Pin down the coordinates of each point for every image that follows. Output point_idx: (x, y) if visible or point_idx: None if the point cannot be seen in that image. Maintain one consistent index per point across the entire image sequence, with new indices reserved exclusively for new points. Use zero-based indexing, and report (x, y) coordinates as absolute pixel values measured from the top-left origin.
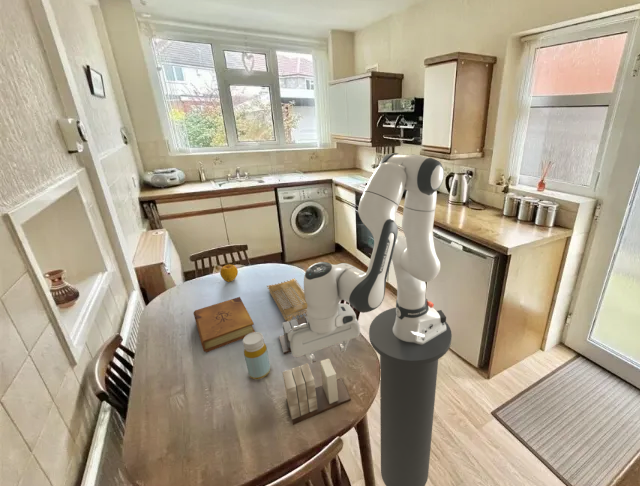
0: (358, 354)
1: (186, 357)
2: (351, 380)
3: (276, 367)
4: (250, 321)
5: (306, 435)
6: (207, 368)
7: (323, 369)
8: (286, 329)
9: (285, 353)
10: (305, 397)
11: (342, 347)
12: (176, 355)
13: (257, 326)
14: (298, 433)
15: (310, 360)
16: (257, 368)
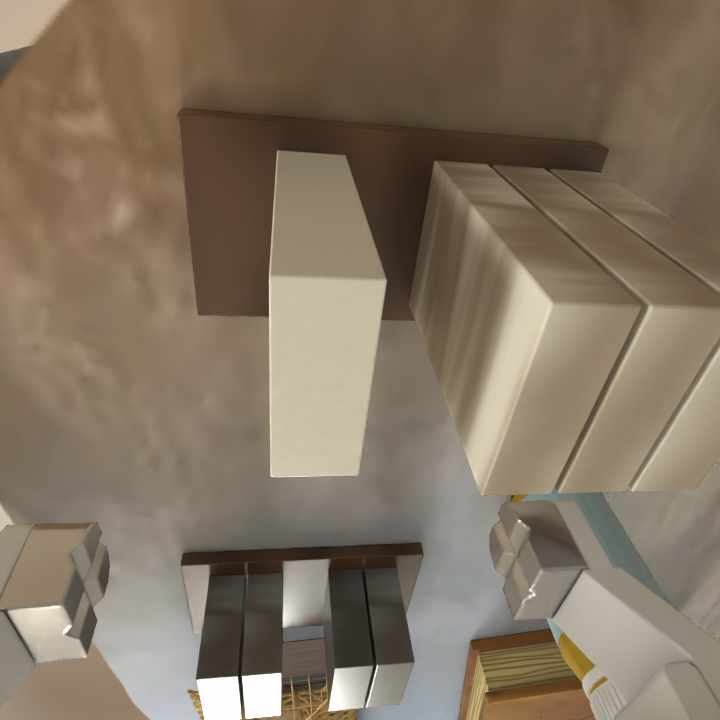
0: (33, 428)
1: (694, 614)
2: (130, 271)
3: (479, 498)
4: (494, 709)
5: (579, 4)
6: (677, 566)
7: (370, 387)
8: (399, 677)
9: (414, 546)
10: (568, 221)
11: (36, 616)
12: (709, 625)
13: (448, 662)
14: (607, 57)
15: (603, 549)
16: (605, 529)
